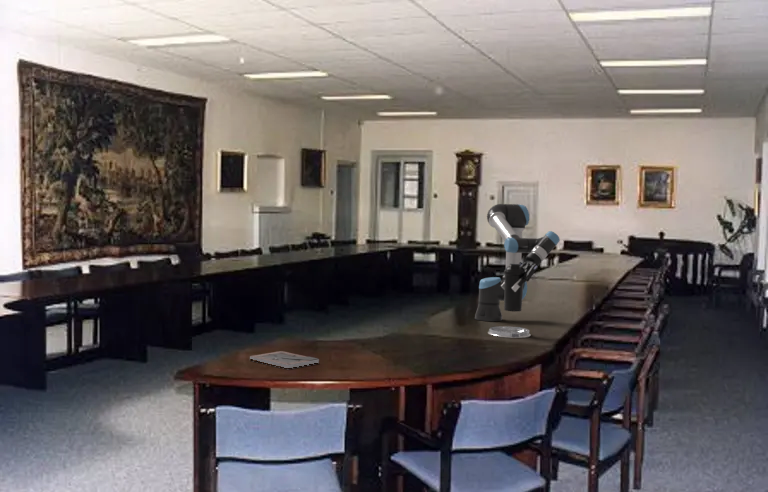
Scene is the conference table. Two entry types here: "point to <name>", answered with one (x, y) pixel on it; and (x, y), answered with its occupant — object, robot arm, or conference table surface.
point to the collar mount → (509, 332)
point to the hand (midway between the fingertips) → (508, 288)
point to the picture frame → (285, 359)
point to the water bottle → (510, 297)
